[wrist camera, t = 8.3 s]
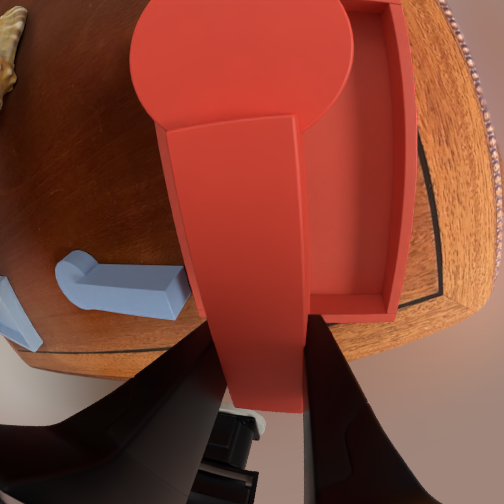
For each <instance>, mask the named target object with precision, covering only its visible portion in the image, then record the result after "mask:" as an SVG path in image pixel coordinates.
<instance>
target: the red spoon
mask: <svg viewBox="0 0 504 504" xmlns="http://www.w3.org/2000/svg"><path fill="white" fill-rule="evenodd" d="M353 55H354V40H353V32H352V28H351V24H350V20H349V18H348V16H347V13H346V11H345V9H344V7H343V5H342V4H341V2H340V1H339V0H151V1H150V2H149V3H148V5H147V6H146V8H145V9H144V11H143V12H142V14H141V16H140V18H139V20H138V22H137V25H136V28H135V30H134V33H133V37H132V41H131V46H130V56H129V62H130V74H131V79H132V83H133V86H134V89H135V92H136V95H137V97H138V99H139V101H140V103H141V104H142V106H143V107H144V109H145V110H146V112H147V113H148V114H149V116H150V117H151V118H152V119H153V120H154V121H155V122H156V123H157V124H158V125H159V126H160V127H161V128H163V129H164V130H165V131H166V133H165V137H166V143H167V148H168V154H169V159H170V165H171V170H172V175H173V180H174V185H175V190H176V195H177V200H178V205H179V209H180V214H181V219H182V223H183V227H184V232H185V236H186V240H187V245H188V249H189V253H190V257H191V261H192V265H193V269H194V273H195V277H196V281H197V285H198V289H199V292H200V296H201V300H202V303H203V307H204V311H205V314H206V318H207V321H208V325H209V328H210V332H211V335H212V339H213V342H214V343H215V347H216V350H217V353H218V357H219V360H220V363H221V366H222V370H223V373H224V376H225V379H226V382H227V386H228V389H229V393H230V396H231V399H232V401H233V404H234V407H236V408H243V409H251V410H261V411H272V412H286V413H302V412H303V348H304V347H305V344H306V334H307V323H308V314H310V248H309V217H308V195H307V177H306V162H305V149H304V136H303V132H304V131H306V130H307V129H309V128H310V127H311V126H313V125H314V124H316V123H317V122H318V121H319V120H320V119H321V118H322V117H323V116H324V115H325V114H326V113H327V112H328V111H329V110H330V108H331V107H332V106H333V105H334V104H335V102H336V101H337V99H338V98H339V96H340V94H341V93H342V91H343V89H344V87H345V85H346V83H347V80H348V78H349V75H350V72H351V68H352V63H353Z"/></svg>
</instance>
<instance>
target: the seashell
mask: <svg viewBox="0 0 504 504" xmlns="http://www.w3.org/2000/svg"><path fill="white" fill-rule="evenodd" d="M26 17H27V10H26V9H25V8H23V7H21V6H16V7H14V8H12V9H11V10H9V11H7V12H6V13H5V14H4V15H3V16H1V17H0V110H1V108H2V104H3V96H4V94H5V93H7V92H9V91H11V90H12V89H13V84H14V83H15V82H16V79H17V77H16V74H15V72H14V58H15V53H16V49H17V45H18V43H19V40H20V37H21V35H22V32H23V30H24V26H25V23H26Z"/></svg>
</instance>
